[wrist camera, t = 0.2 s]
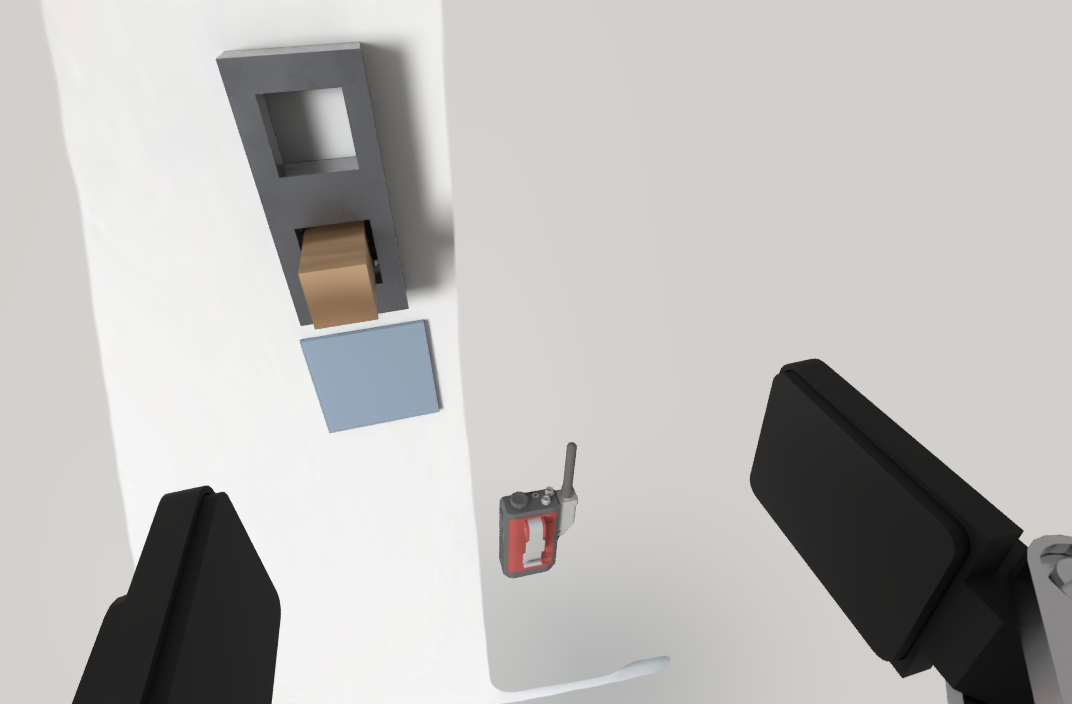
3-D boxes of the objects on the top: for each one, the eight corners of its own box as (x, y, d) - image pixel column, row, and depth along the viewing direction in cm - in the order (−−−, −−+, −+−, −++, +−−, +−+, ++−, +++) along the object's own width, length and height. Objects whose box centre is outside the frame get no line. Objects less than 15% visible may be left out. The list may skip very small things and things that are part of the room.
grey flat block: (224, 51, 35) (215, 59, 33) (359, 41, 37) (360, 48, 34) (303, 306, 46) (300, 326, 43) (405, 290, 47) (408, 308, 45)
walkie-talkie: (564, 550, 73) (578, 433, 62) (575, 580, 70) (591, 462, 59) (497, 564, 71) (497, 445, 60) (504, 596, 68) (507, 476, 57)
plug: (306, 218, 42) (297, 273, 35) (362, 211, 43) (366, 264, 36) (320, 268, 44) (314, 329, 37) (373, 260, 45) (378, 319, 38)
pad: (300, 339, 47) (299, 342, 47) (423, 319, 49) (423, 322, 49) (329, 430, 53) (329, 433, 53) (438, 409, 55) (439, 411, 54)
